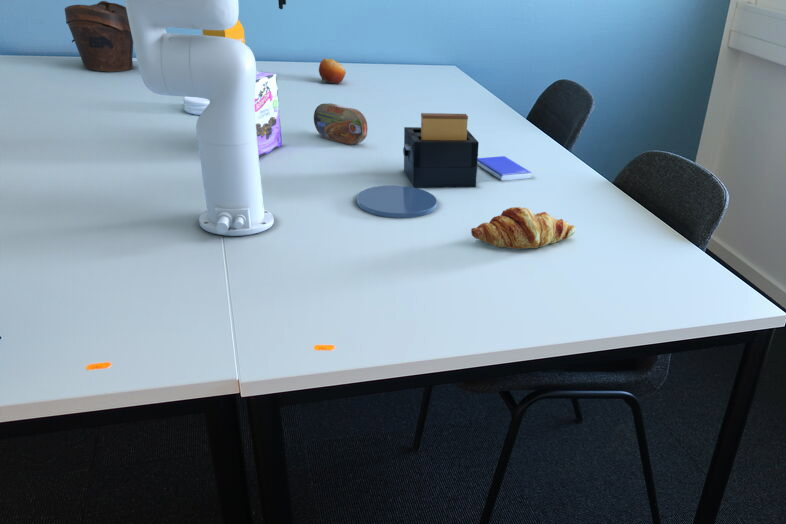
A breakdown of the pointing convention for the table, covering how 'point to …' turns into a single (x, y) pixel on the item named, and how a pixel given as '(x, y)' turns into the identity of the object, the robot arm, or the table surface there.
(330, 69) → the fruit
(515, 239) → the croissant
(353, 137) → the tin
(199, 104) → the white round container
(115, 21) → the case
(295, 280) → the table surface
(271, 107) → the candy box
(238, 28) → the orange juice
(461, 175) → the toaster
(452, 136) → the toast
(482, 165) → the blue book
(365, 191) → the plate
